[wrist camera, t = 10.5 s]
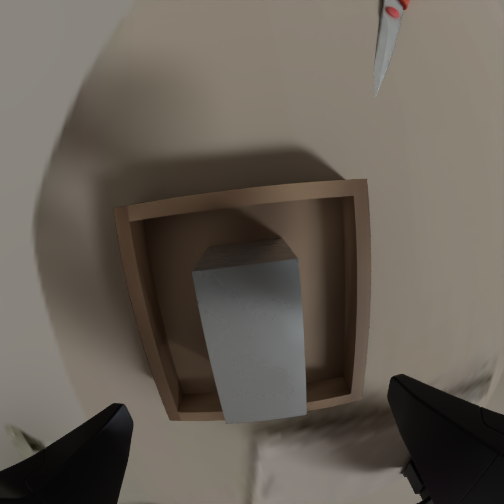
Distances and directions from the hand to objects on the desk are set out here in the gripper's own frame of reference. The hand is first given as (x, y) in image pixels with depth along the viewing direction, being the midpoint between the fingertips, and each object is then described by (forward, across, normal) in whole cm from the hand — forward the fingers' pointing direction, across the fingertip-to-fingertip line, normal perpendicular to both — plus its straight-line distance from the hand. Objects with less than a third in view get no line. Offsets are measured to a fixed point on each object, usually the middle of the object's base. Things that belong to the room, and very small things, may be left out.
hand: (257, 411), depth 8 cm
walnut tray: (+10, 0, 0) cm, 10 cm away
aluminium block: (+8, 0, 0) cm, 9 cm away
